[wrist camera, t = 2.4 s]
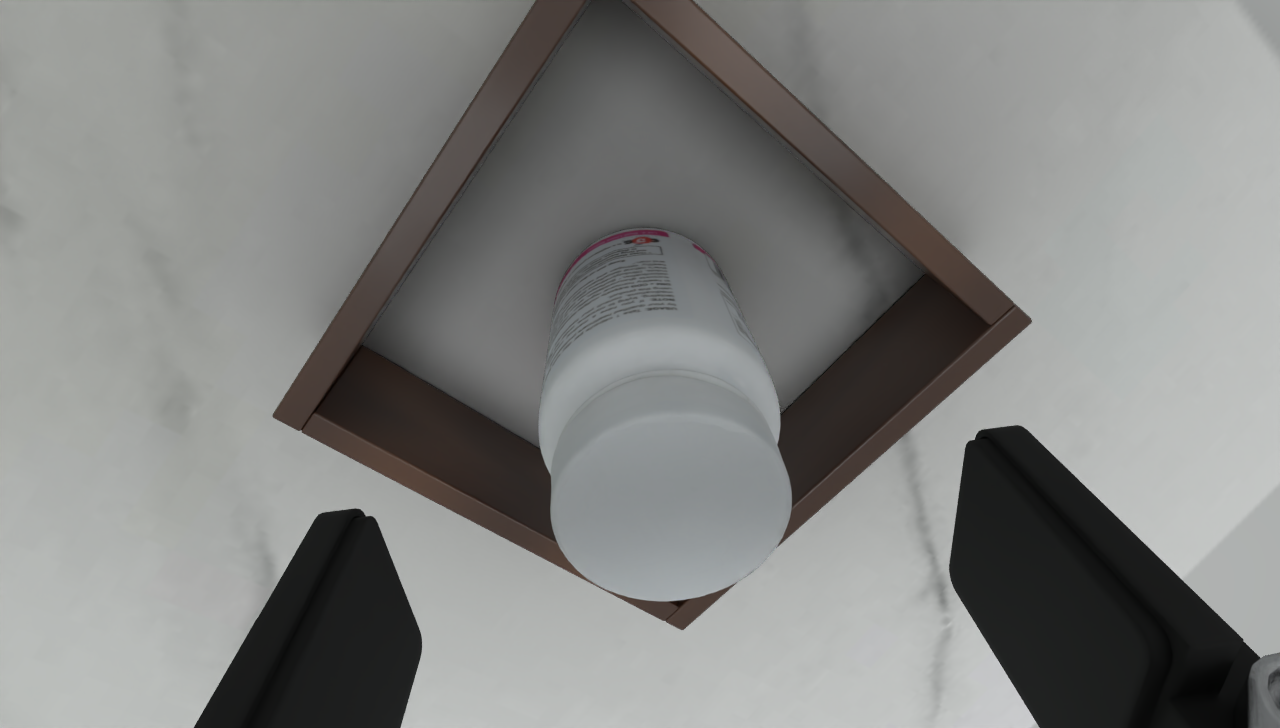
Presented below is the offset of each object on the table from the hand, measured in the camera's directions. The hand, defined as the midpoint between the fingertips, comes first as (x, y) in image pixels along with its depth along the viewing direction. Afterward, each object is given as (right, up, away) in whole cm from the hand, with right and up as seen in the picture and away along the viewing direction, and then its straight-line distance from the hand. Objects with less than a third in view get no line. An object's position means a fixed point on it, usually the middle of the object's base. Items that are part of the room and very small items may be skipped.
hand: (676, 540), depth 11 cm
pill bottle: (-1, +4, +8) cm, 9 cm away
